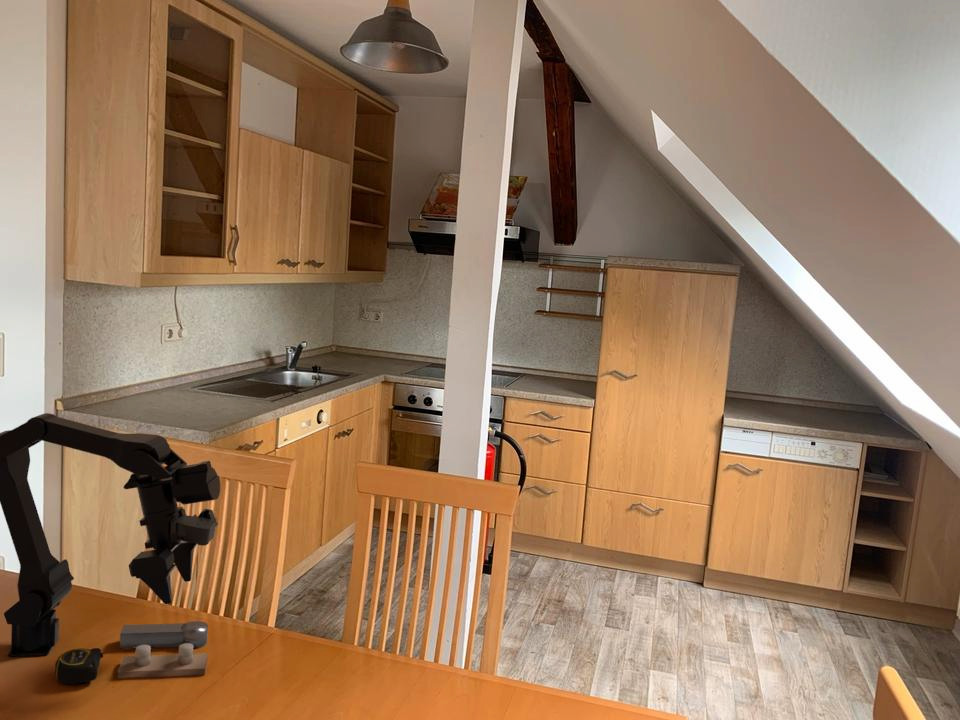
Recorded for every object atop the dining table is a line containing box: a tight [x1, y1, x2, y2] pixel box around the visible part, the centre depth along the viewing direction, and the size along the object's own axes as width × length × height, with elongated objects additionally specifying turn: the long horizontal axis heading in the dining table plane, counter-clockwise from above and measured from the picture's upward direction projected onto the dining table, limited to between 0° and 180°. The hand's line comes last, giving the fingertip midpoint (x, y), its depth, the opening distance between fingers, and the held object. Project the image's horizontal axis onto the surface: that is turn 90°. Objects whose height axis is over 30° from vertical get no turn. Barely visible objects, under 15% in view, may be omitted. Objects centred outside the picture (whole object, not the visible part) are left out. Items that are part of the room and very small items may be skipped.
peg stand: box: [117, 643, 209, 679], centre depth 134 cm, size 14×5×4 cm, turn 105°
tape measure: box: [54, 647, 104, 685], centre depth 129 cm, size 7×7×4 cm
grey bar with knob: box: [119, 620, 209, 649], centre depth 142 cm, size 15×5×3 cm, turn 105°
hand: (178, 592), depth 136 cm, fingers open, 9 cm apart
